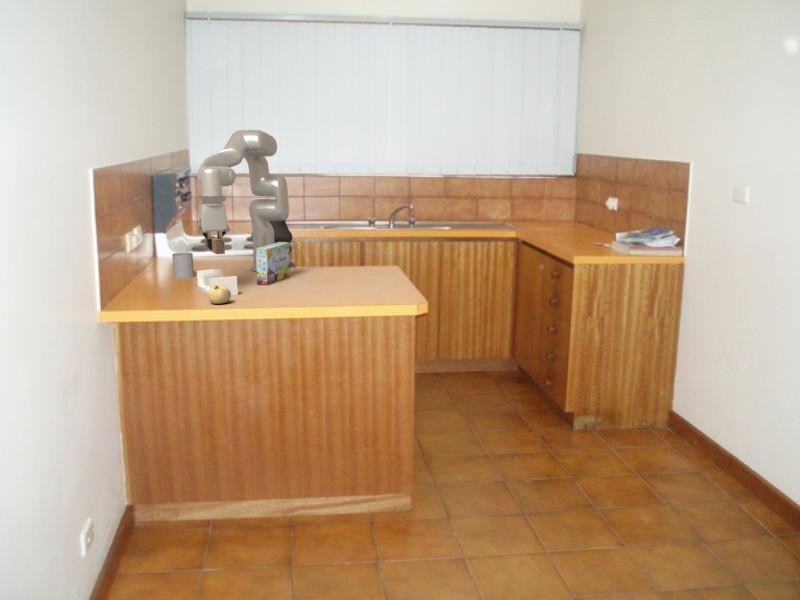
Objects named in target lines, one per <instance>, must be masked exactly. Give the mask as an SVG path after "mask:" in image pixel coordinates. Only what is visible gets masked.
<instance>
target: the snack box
mask: <svg viewBox="0 0 800 600" xmlns="http://www.w3.org/2000/svg"><path fill="white" fill-rule="evenodd" d="M290 244H291V243H289V242H277V243H273V244H270V245H266V246H263V247H259V248H256V264H257V272H256V285H259V286H268V285H271V284H275V283H277V282H279V280H280V281H282V280H284V278H285V279H287V278H286V277H288V276H290V277H291V267H290V266H291V263H290V262H291V260H290V259H291V258H290V257H291V255H290V254H291V253H290ZM288 278H289V277H288Z"/></svg>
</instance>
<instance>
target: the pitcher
mask: <svg viewBox="0 0 800 600" xmlns="http://www.w3.org/2000/svg"><path fill="white" fill-rule="evenodd" d="M286 220H287V219H286ZM286 220H284V221H269V223H270V224H271V225H272V227H273V229H274V243H277V242H289V243H290V244H291V243H292V239H293V234H292V232H291V231H290V229H289V227H288V225H287V222H286ZM250 236H251V240H252V241H253V234H252V233H251V235H250Z"/></svg>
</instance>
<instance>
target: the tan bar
mask: <svg viewBox="0 0 800 600" xmlns="http://www.w3.org/2000/svg"><path fill="white" fill-rule="evenodd" d="M211 239H212V250H210V249H209V248H208V246H207V238H206V237H204V246H205V247H204V248H205V251H209V252H211V253H214V254H215V255H224V254H226V252H225V251H226V249H225V247H226V246H225V240H224V239H222V240H221V239H218V238H217V237H215V236H214V235H213V236H212V235H211Z"/></svg>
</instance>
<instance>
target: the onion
mask: <svg viewBox="0 0 800 600" xmlns="http://www.w3.org/2000/svg"><path fill="white" fill-rule="evenodd" d="M231 297H232V295H231V292H230V291H229V289H228V288H226V287H224V286H219V285H214V286H213V288H212V289H211V290H210V291H209V294H208V295H207V298H208V300H209V302H210V303H211V304H215V305H216V304H219V305H220V304H228V303H229V302H230V300H231Z"/></svg>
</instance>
